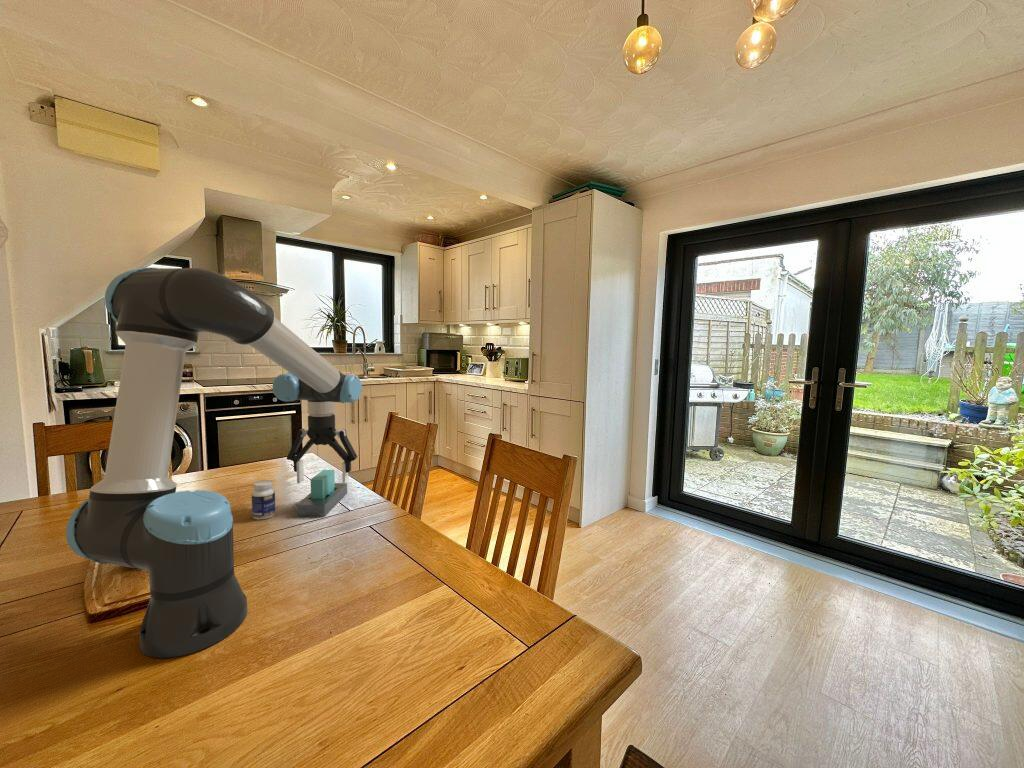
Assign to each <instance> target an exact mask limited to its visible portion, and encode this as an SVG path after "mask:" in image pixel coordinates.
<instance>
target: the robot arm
mask: <svg viewBox="0 0 1024 768" xmlns="http://www.w3.org/2000/svg"><path fill="white" fill-rule="evenodd" d="M104 304H105V308H106V309H105V310H107V312H108V313H110V315H111V316H110V317H111V319H112V320H113V321H114V322H115V323H116V329H115V334H116V335H117V337H119V339H120V340H121V341H122V342H123V343H124V344H125V347H124V352H123V359H122V364H121V365H122V366H121V372H120V378H119V386H118V392H117V396H116V402H115V403H116V404H115V409H114V415H113V422H112V429H111V434H110V440H109V441H110V442H109V447H108V454H107V458H106V459H107V461H106V465H105V466H106V467H105V470H104V471H105V473H104V477H103V478H102V479H101V480H100V481H98V482H97V483H95V484H94V485H93V486H91V487H90V490H89V495H88V498H87V499H85V500H84V501H83V502H81V504H80V506H79V507H78V508H75V509H74V510H73V512H72V513H71V515H70V516H69V519H68V521H67V524H66V529H65V539H66V542H67V544H68V546H69V548H70V549H71V550H72V551H73V552H74V553H75V554H76V555H78V556H80V557H81V558H84V559H87V560H90V561H92V562H94V563H98V564H101V565H102V564H103V565H115V566H121V567H126V568H133V569H137V570H138V569H139V570H145V571H147V572H148V579H149V581H148V582H149V592H150V598H149V602H148V604H147V608H146V611H145V614H144V616H143V619H142V622H141V625H140V628H139V632H138V641H139V649H140V651H141V652H142V653H143V654H144V655H145V656H148V657H150V658H154V659H155V658H156V659H171V658H179V657H181V656H186V655H189V654H194V653H196V652H199V651H201V650H203V649H206V648H209V647H211V646H213V645H215V644H217V643H219V642H220V641H222V640H224V639H226V638H227V637H228V636H230V635H231V634H232V633H234V632H235V631H236V630H237V629H239V627H240V626H241V625H242V624H243V623H244V622H245V620H246V618H247V616H248V599H247V596H246V595H245V593H244V592H243V590H242V587H241V584H240V583H239V580H238V578H237V576H236V573H235V565H234V564H235V559H234V556H235V555H234V517H233V514H232V509H231V503H230V502H229V500H228V499H227V497H226V496H224V495H223V494H220V493H218V492H214V491H210V490H199V489H196V490H193V491H190V490H182V491H177V483H176V482H175V481H174V480H173V479H172V478H170V477H169V470H170V469H169V468H170V463H171V462H170V461H171V457H172V455H171V454H172V449H173V448H172V447H173V442H174V437H175V436H174V435H175V429H176V422H177V414H178V409H179V408H178V407H179V400H180V394H181V386H182V380H183V373H184V366H185V360H186V353H187V351H189V350H191V349H193V348H194V347H196V346H197V344H198V338H199V332H200V333H201V332H206V333H211V334H217V335H221V336H223V337H226V338H228V339H230V340H232V341H233V342H235V343H236V344H238V345H242V346H247V345H248V346H250V347H251V348H253V349H254V350H256V351H257V352H259V353H260V354H262V355H263V356H264V357H266V358H267V359H269V360H270V361H272V362H274V363H275V364H276V365H278V366H280V367H281V368H282V369H284V370H285V371H286V372H285V373H281V374H278V375H277V376H276V377H275V378H274V380H273V381H272V392H273V395H274V396H275V397H276V398H277V399H278V400H280V401H282V402H295V401H307V414H308V416H307V428H308V429H307V430H306V429H305V428H301V429H299V430H297V431H296V438H295V440H294V442H293V444H292V445H291V448H290V450H289V452H288V454H287V456H286V460H288V461H293V472H294V473H296V481H297V482H296V483H297V484H301V483H302V482H304V481H305V479H304V478H305V475H304V460H303V459H302V458H303V457H304V456H305V454H306V453H307V452H308V451H309V449H310V448H311V447H312V446H313V445H315V446H319V445H321V446H327V445H328V446H329V447H330V448H332V449H333V451H335V452H336V454H337V455H338V456H339V457H340V458H341V459H342V461H343V462H342V463H341V465H342V467H341V469H342V475H341V476H342V477H341V479H342V483H343V484H346V483H347V484H348V482H349V473H350V472H351V471H352V461H353V462H354V461H355V460H356V459H357V458H358V455H357V453H356V451H355V449H354V448H353V446H352V444H351V442H350V440H349V438H348V435H347V430H346V429H342V430H337V429H336V414H334V413H336V404H335V403H339V404H340V403H341V404H344V403H345V404H346V403H350V404H351V403H356V402H357V401H358V400H359V399H360V398H361V394H362V392H363V391H362V390H363V385H362V382H361V378H360V377H358V376H357V375H354V374H353V375H352V374H350V373H348V374H344V373H342V372H341V371H340V370H338V368H337V367H335V366H334V365H333V364H332V363H330V362H329V361H327V359H325V358H324V357H323V356H322V355H320V353H318V352H317V351H316V350H314V348H312V347H311V346H309V345H308V343H306V342H305V341H304V340H303V339H302V338H300V337H299V336H298V335H297V334H296V333H294V332H293V331H292V330H290V329H289V328H288V327H287V326H286V325H285V324H284V323H282V322H281V321H280V320H278V318H276V313H275V310H274V309H273V308H272V307H271V306H270V305H269V304H268V303H266V301H264V300H263V299H261V298H260V297H259V296H258V295H256V294H255V293H254V292H253V291H251V290H250V289H248V288H246V287H245V286H244V285H242V284H240V283H239V282H237V281H235V280H233V279H231V278H229V277H227V276H226V275H224V274H221V273H219V272H217V271H214V270H209V269H206V268H200V267H185V268H184V267H183V268H181V267H180V268H179V267H178V268H175V267H173V268H158V267H142V268H137V269H131V270H127V271H124V272H123V273H120V274H118V275H116V276H115V277H114V278H113V279H112V280H110V282H109V284H108V286H107V287H106V289H105V294H104ZM306 436H308V438H309V439H308V441H306V443H305V445H304V446H303V447H302V448H301V449H300V451H299V452H298V450H299V448H300V447H301V444H302V442H303V440H304V438H305V437H306ZM336 436H337V438H339V439H340V442H341V444H342V445H343V447H342V445H341V444H340V443H339V442H338V439H336V438H335V437H336Z"/></svg>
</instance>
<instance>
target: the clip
mask: <svg viewBox="0 0 1024 768" xmlns="http://www.w3.org/2000/svg"><path fill="white" fill-rule="evenodd" d="M335 478H336V477H335V469H322V470H321V471H319V472H318V473H317V474H316V475H315V476H313V477H312V478H310V493H311V499H327V497H326V496H327V495H328V494H329V493H330V492H334V488H335V483H336V481H335Z"/></svg>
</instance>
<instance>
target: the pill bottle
mask: <svg viewBox="0 0 1024 768" xmlns="http://www.w3.org/2000/svg"><path fill="white" fill-rule="evenodd" d="M273 486H274V485H273V480H270V479H264V480H258V481H255V482H253V489H254V490H253V491H252V492H251V516H252V519H254V520H266V519H270V518H272V517H274V515H276V490H275V489H274V488H273Z"/></svg>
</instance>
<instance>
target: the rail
mask: <svg viewBox="0 0 1024 768" xmlns="http://www.w3.org/2000/svg"><path fill="white" fill-rule="evenodd" d="M346 495H348V482H347V483H346V484H343V482H335V488H334V492H330V493H329V494H328V495H327V496H326V497H327V499H311V492H310V493H309V494H307V495H306V496H305V497H304V498H302V500H300V501H299V502H298V503H297V504H295V506H296V507H295V508H296V509H295V512H296V513H295V516H296V517H297V518H298V517H300V518H301V517H303V518H304V517H307V518H311V517H312V518H320V517H321V518H325V517H326V516H327V515H328V514H329V513H330V512H331V511H332V510H333V509H334V508H335V507H336V506H337V505H338V503H340V502H341V500H343V498H344V497H345V496H346Z"/></svg>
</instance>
